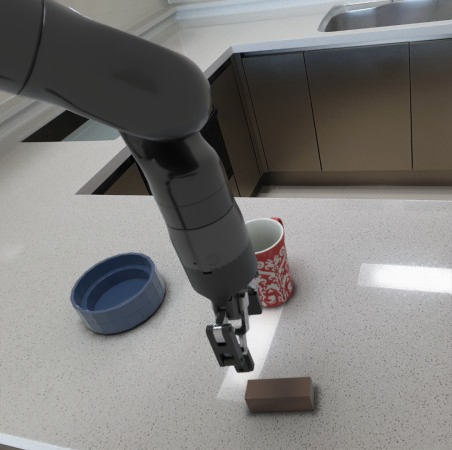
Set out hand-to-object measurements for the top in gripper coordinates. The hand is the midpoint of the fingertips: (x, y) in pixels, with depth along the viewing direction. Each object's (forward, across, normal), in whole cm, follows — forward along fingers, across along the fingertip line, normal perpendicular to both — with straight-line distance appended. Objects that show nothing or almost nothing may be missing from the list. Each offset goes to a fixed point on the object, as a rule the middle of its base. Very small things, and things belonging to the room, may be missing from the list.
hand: (250, 339), depth 57 cm
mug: (+14, -22, -2) cm, 26 cm away
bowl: (+13, -21, -30) cm, 39 cm away
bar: (+13, +1, +1) cm, 13 cm away
